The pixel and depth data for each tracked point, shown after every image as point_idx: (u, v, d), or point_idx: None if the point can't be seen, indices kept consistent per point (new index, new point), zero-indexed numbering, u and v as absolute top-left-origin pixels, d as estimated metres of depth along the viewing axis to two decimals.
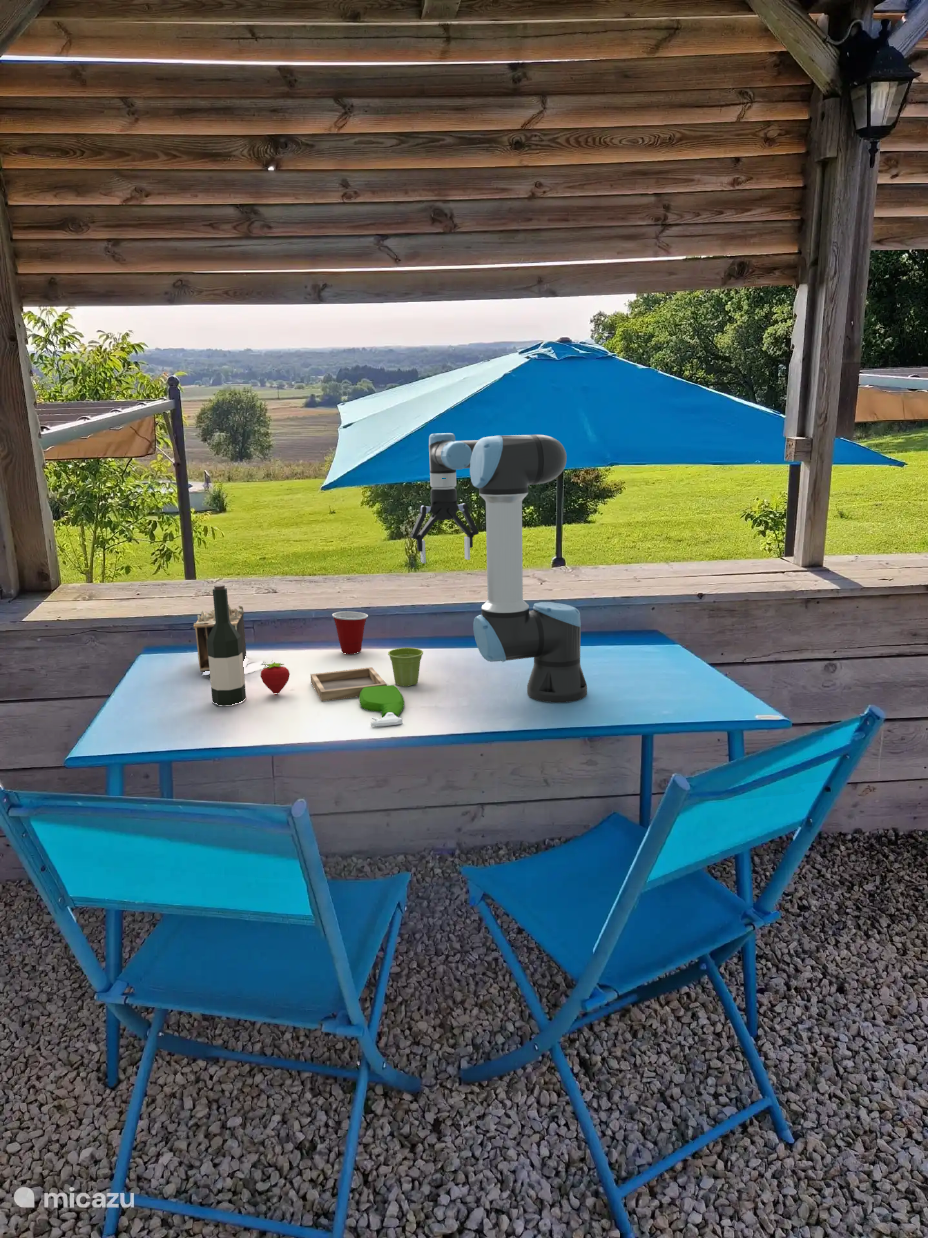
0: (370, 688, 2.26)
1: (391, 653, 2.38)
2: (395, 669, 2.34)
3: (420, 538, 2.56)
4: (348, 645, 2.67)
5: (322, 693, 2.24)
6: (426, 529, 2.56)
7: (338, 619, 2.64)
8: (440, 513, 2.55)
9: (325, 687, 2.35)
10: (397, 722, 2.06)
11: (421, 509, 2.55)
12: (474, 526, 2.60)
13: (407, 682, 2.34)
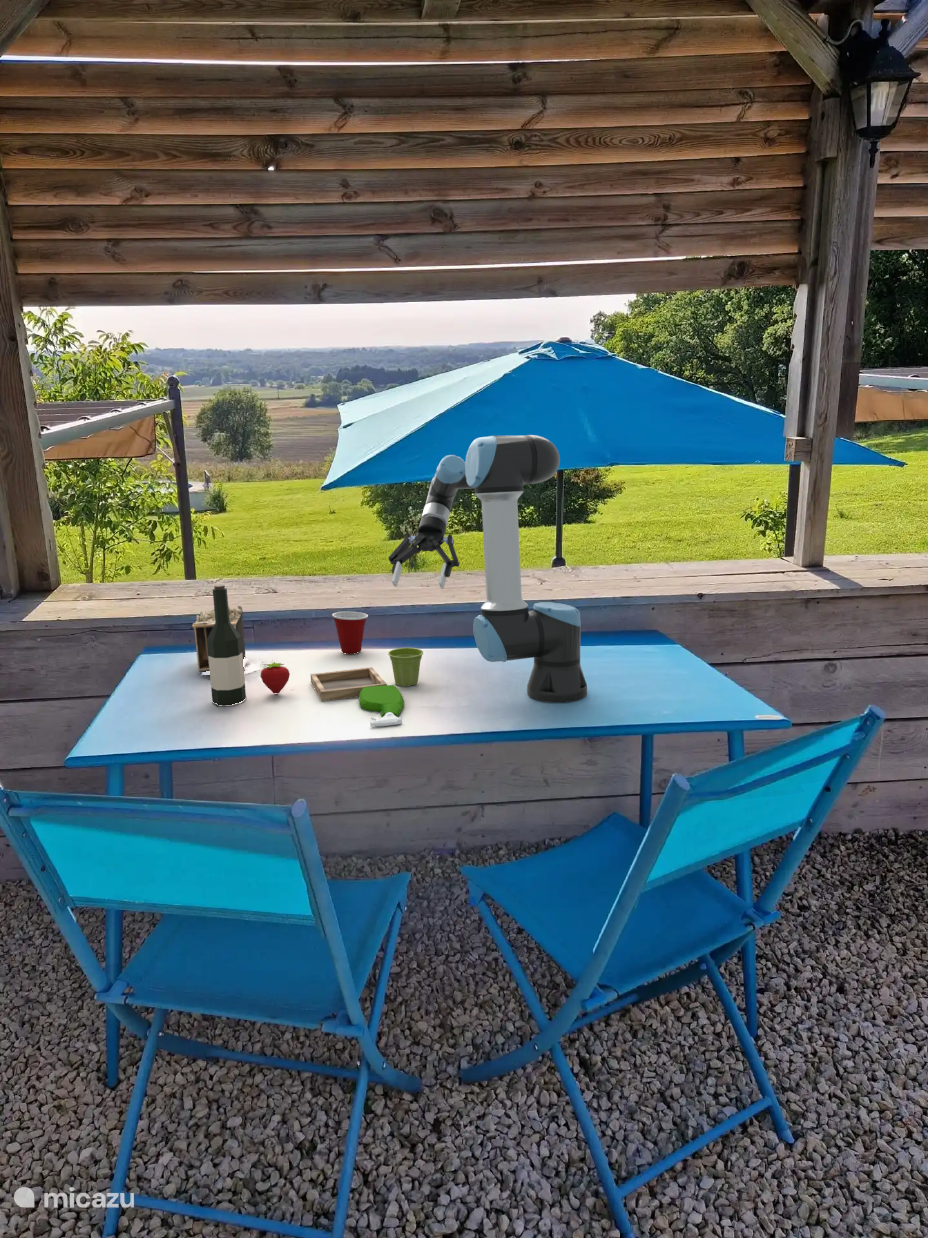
0: (370, 688, 2.26)
1: (391, 653, 2.38)
2: (395, 669, 2.34)
3: (395, 559, 2.47)
4: (348, 645, 2.67)
5: (322, 693, 2.24)
6: (404, 552, 2.48)
7: (338, 619, 2.64)
8: (420, 538, 2.48)
9: (325, 687, 2.35)
10: (396, 722, 2.06)
11: None
12: (454, 554, 2.43)
13: (407, 682, 2.34)
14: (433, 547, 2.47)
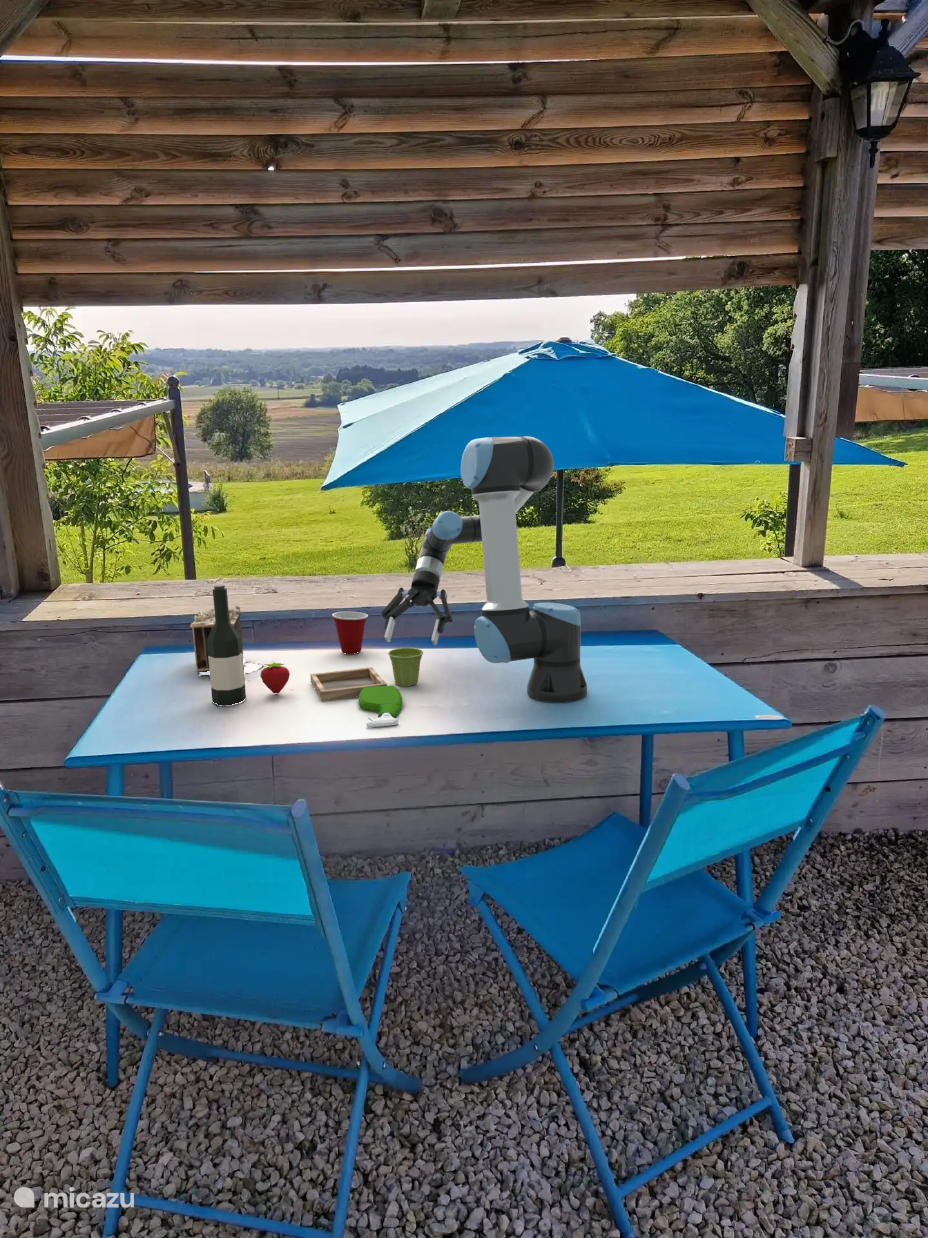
0: (370, 688, 2.26)
1: (391, 653, 2.38)
2: (395, 669, 2.34)
3: (388, 614, 2.46)
4: (348, 645, 2.67)
5: (322, 693, 2.24)
6: (397, 607, 2.47)
7: (338, 619, 2.64)
8: (414, 593, 2.47)
9: (325, 687, 2.35)
10: (392, 723, 2.05)
11: None
12: (447, 610, 2.42)
13: (407, 682, 2.34)
14: (426, 602, 2.46)
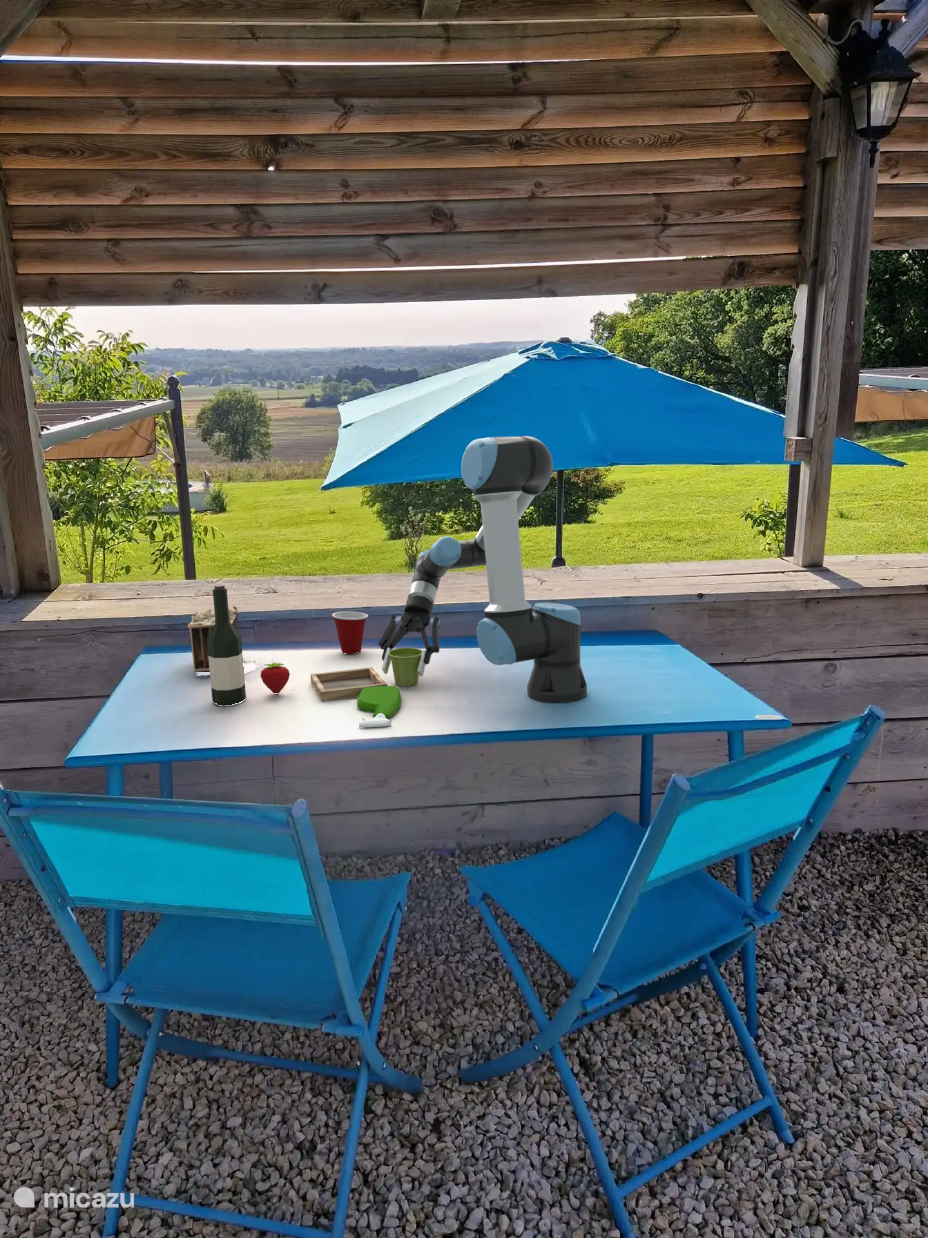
0: (371, 688, 2.26)
1: (391, 653, 2.38)
2: (395, 669, 2.34)
3: (386, 645, 2.38)
4: (348, 645, 2.67)
5: (322, 693, 2.24)
6: (393, 636, 2.39)
7: (338, 619, 2.64)
8: (407, 619, 2.41)
9: (325, 687, 2.35)
10: (385, 724, 2.05)
11: None
12: (435, 640, 2.36)
13: (407, 682, 2.34)
14: (419, 628, 2.40)
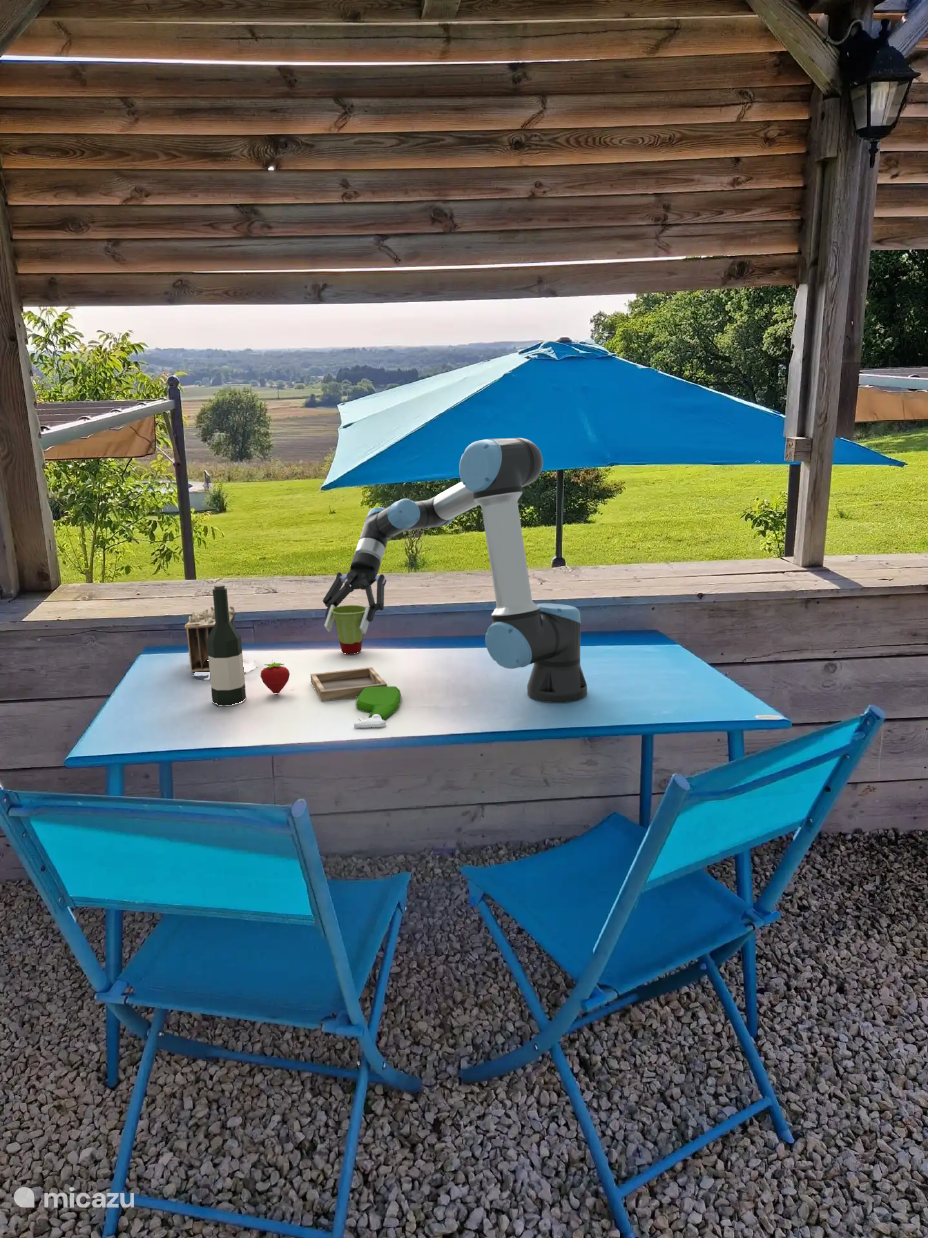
0: (371, 688, 2.26)
1: (335, 610, 2.33)
2: (338, 626, 2.30)
3: (330, 602, 2.34)
4: (348, 645, 2.67)
5: (322, 693, 2.24)
6: (337, 594, 2.35)
7: None
8: (352, 576, 2.36)
9: (325, 687, 2.35)
10: (379, 725, 2.04)
11: None
12: (379, 597, 2.31)
13: (350, 639, 2.30)
14: None
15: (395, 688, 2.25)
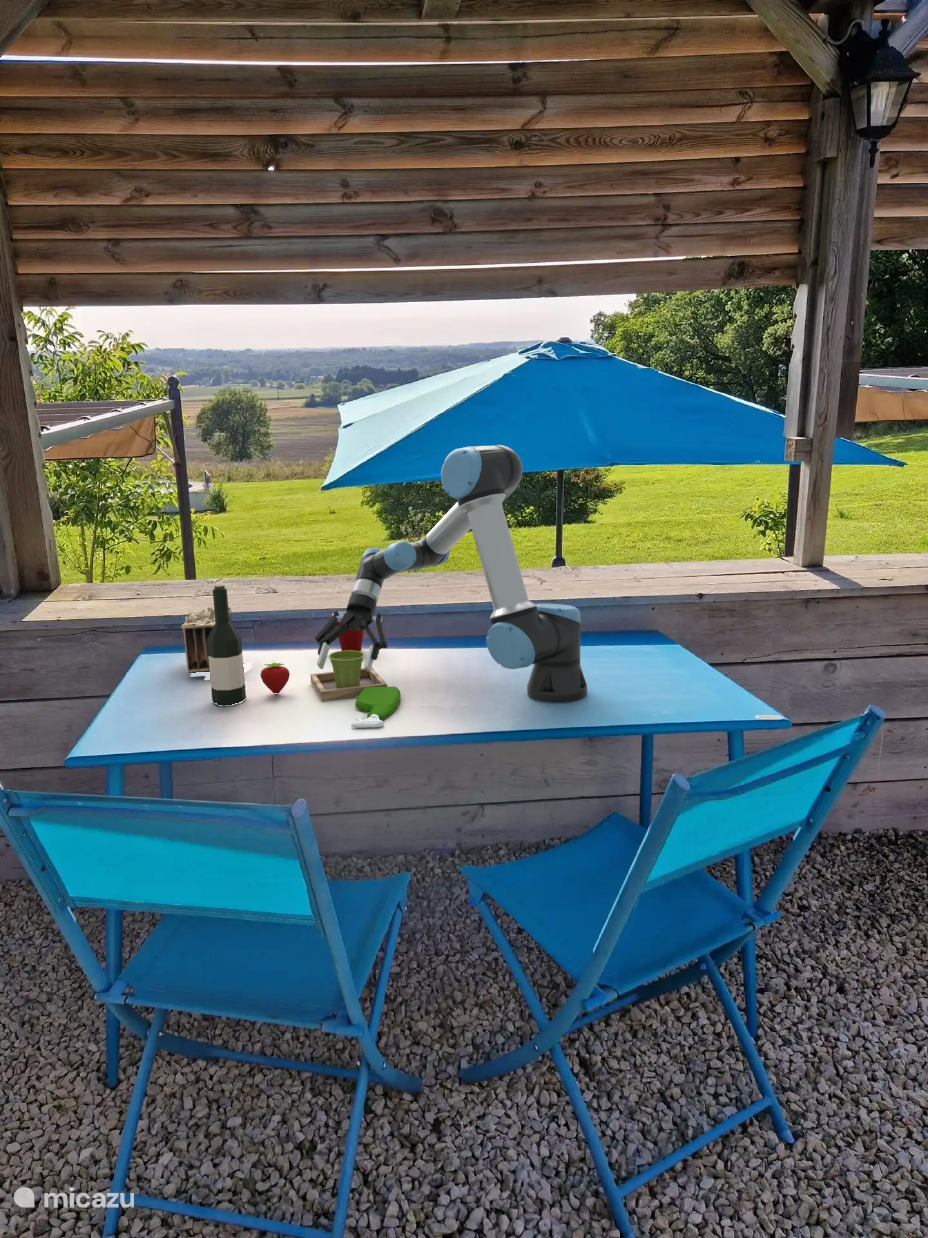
0: (371, 688, 2.26)
1: (332, 656, 2.35)
2: (335, 672, 2.31)
3: (322, 640, 2.36)
4: (348, 645, 2.67)
5: (322, 693, 2.24)
6: (331, 632, 2.37)
7: None
8: (348, 617, 2.37)
9: (325, 687, 2.35)
10: (377, 725, 2.04)
11: None
12: (382, 635, 2.33)
13: (348, 685, 2.32)
14: (361, 627, 2.36)
15: (395, 688, 2.25)
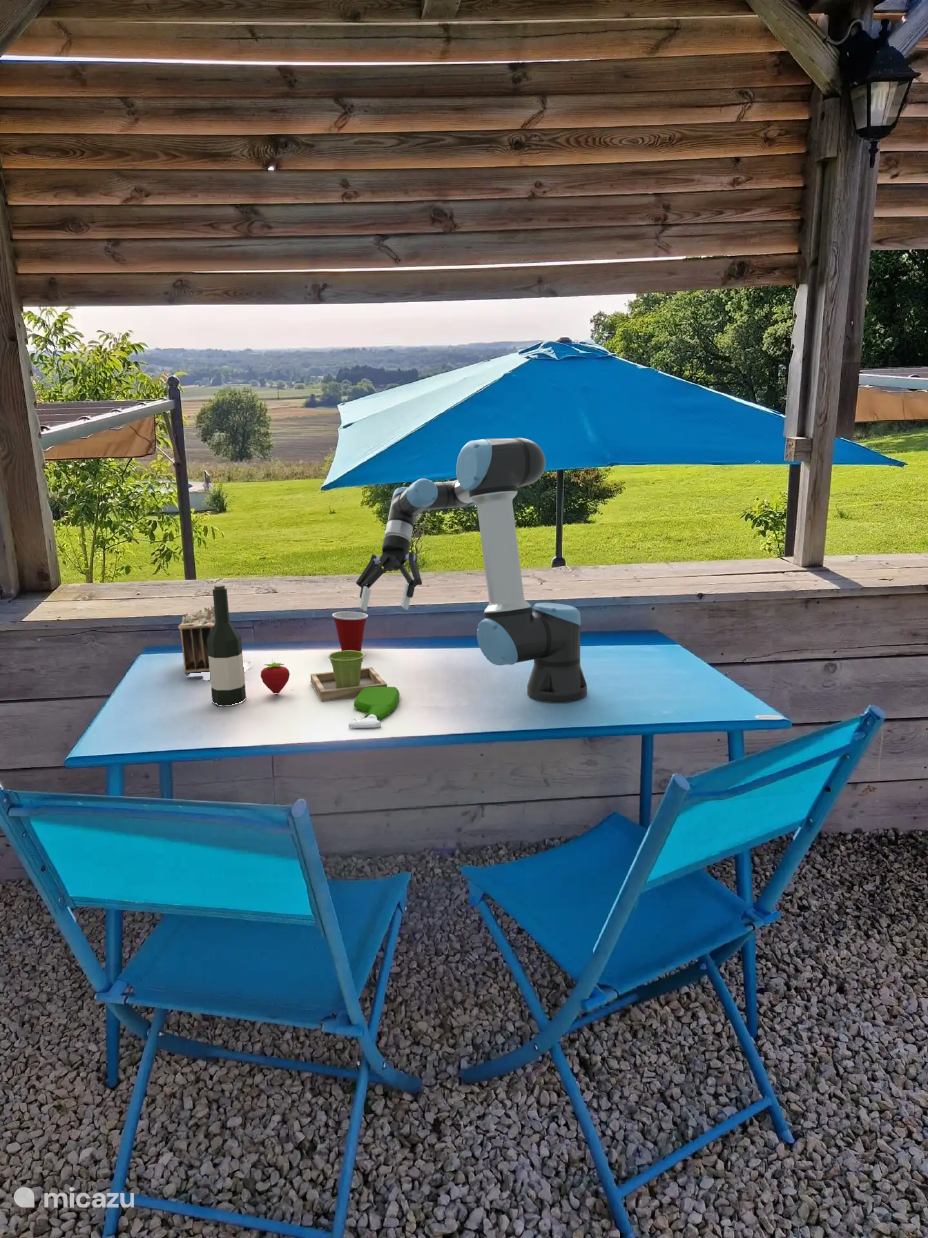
0: (370, 688, 2.26)
1: (332, 656, 2.35)
2: (335, 672, 2.32)
3: (362, 584, 2.50)
4: (348, 645, 2.67)
5: (322, 693, 2.24)
6: (370, 575, 2.50)
7: (338, 619, 2.64)
8: (384, 559, 2.49)
9: (325, 687, 2.35)
10: (374, 725, 2.04)
11: None
12: (414, 573, 2.43)
13: (348, 685, 2.32)
14: (396, 567, 2.48)
15: (394, 688, 2.25)
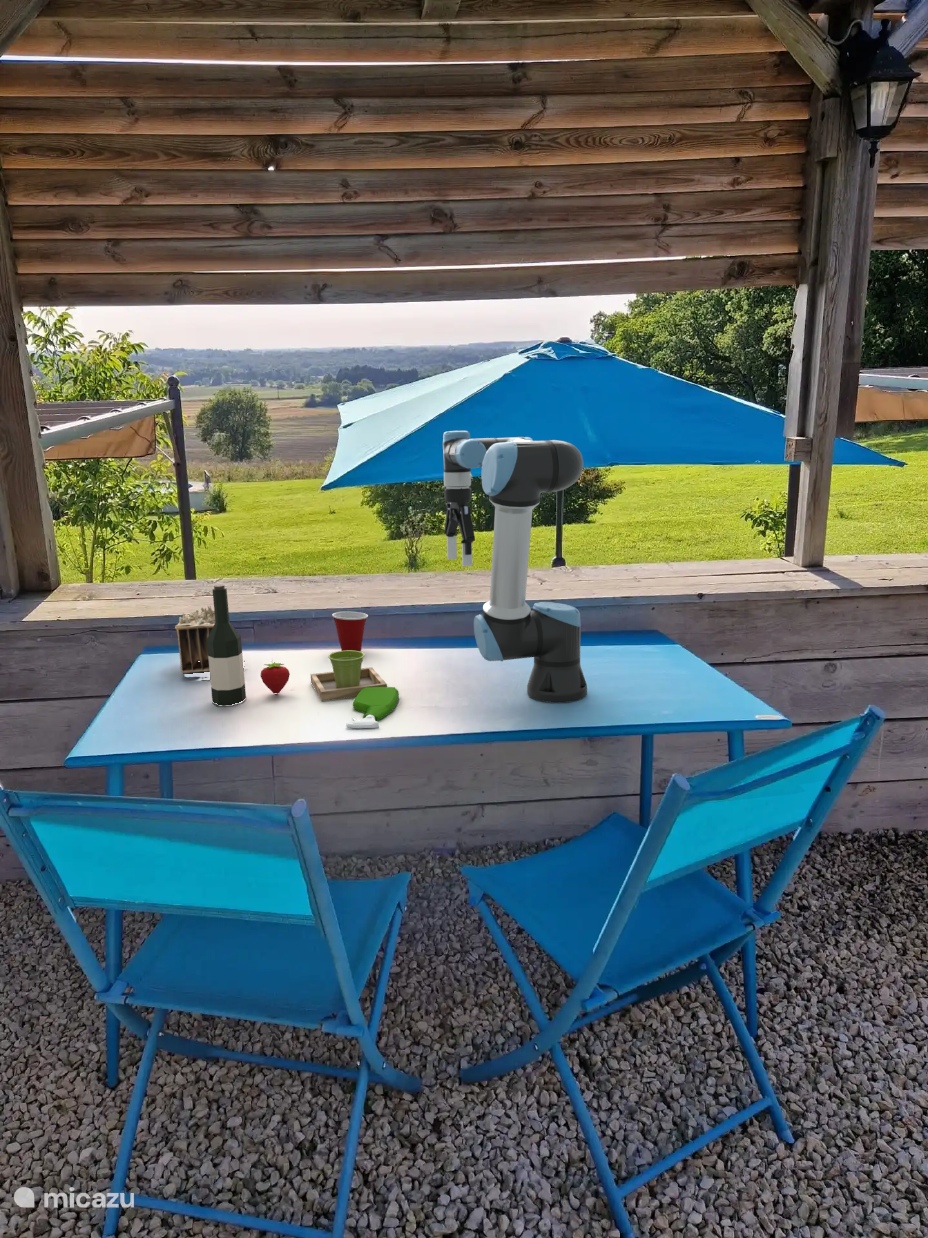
0: (370, 688, 2.25)
1: (332, 656, 2.35)
2: (335, 672, 2.32)
3: (446, 534, 2.58)
4: (348, 645, 2.67)
5: (322, 693, 2.24)
6: (448, 526, 2.55)
7: (338, 619, 2.64)
8: (450, 512, 2.50)
9: (325, 687, 2.35)
10: (372, 725, 2.04)
11: None
12: (464, 532, 2.42)
13: (348, 685, 2.32)
14: None
15: (393, 689, 2.25)
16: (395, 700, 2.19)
